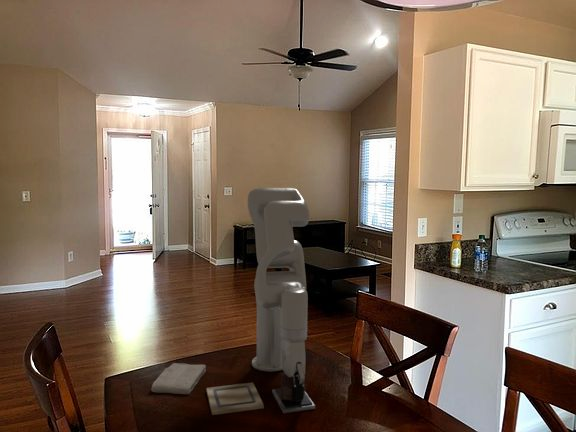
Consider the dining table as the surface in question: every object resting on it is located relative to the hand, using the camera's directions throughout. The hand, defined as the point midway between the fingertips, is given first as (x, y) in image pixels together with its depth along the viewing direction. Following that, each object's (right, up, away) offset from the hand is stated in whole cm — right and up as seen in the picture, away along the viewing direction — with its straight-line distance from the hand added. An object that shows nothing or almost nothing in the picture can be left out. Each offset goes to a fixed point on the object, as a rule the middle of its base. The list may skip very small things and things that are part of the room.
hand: (292, 392), depth 127 cm
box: (0, -1, 0) cm, 1 cm away
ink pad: (0, -2, 0) cm, 2 cm away
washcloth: (-35, -2, +12) cm, 37 cm away
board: (-17, -2, +1) cm, 17 cm away
